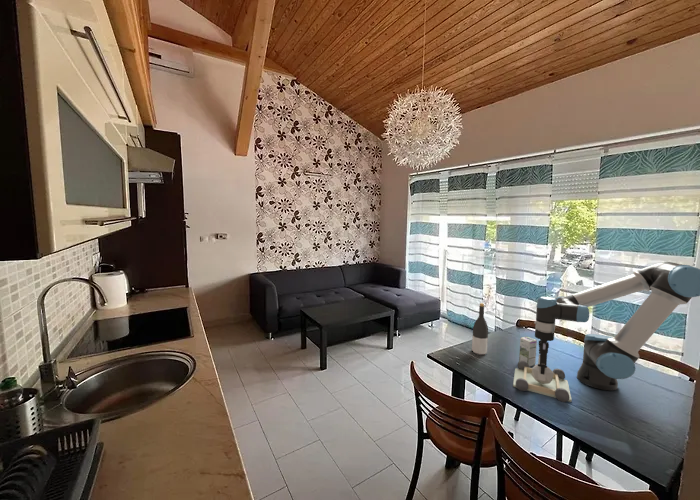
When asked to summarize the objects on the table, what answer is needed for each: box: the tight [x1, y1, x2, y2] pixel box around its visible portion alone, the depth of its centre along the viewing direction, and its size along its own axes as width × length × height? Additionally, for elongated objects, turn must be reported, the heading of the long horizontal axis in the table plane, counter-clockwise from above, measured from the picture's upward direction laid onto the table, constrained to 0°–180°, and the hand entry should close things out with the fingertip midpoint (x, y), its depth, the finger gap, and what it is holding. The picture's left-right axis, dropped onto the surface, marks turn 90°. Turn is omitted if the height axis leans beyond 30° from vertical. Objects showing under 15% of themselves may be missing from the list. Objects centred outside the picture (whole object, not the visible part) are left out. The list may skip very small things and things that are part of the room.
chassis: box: [512, 361, 573, 403], centre depth 141 cm, size 22×23×5 cm
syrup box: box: [518, 336, 538, 367], centre depth 161 cm, size 6×6×14 cm
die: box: [531, 363, 554, 384], centre depth 139 cm, size 8×9×10 cm
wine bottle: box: [471, 302, 489, 356], centre depth 172 cm, size 8×8×30 cm
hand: (541, 373), depth 141 cm, fingers open, 13 cm apart
